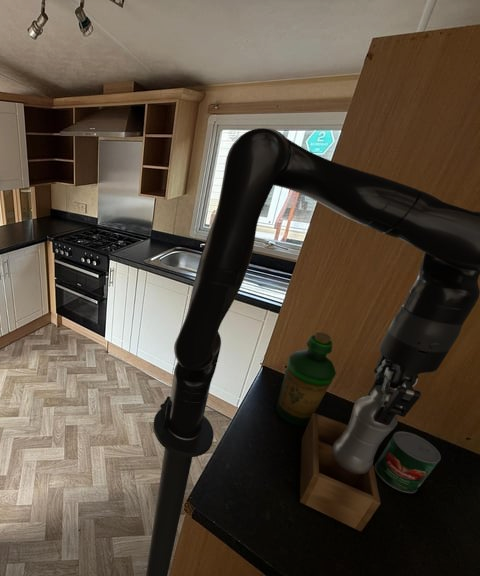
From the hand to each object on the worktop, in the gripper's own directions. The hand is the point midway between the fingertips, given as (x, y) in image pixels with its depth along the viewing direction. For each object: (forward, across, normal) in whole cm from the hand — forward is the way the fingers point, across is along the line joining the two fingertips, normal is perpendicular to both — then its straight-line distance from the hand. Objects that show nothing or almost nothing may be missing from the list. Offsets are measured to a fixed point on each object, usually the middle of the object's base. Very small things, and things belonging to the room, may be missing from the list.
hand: (377, 409), depth 59 cm
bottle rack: (+27, -4, 0) cm, 28 cm away
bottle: (+27, -22, -8) cm, 36 cm away
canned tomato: (+27, -14, +14) cm, 34 cm away
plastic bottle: (+16, 0, 0) cm, 16 cm away
